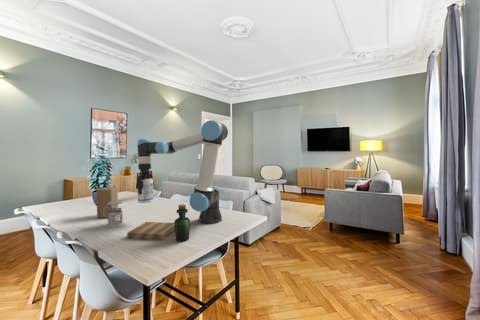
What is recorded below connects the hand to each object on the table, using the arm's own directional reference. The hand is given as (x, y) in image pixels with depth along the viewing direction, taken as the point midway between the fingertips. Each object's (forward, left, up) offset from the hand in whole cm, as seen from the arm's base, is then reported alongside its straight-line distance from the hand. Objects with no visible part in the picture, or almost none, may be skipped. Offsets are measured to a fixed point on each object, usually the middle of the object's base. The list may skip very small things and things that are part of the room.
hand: (145, 197), depth 140 cm
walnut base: (-15, +17, -16) cm, 28 cm away
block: (+34, -9, -16) cm, 39 cm away
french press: (+17, +7, -16) cm, 25 cm away
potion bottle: (-34, +24, -16) cm, 45 cm away
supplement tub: (0, 0, -3) cm, 3 cm away
